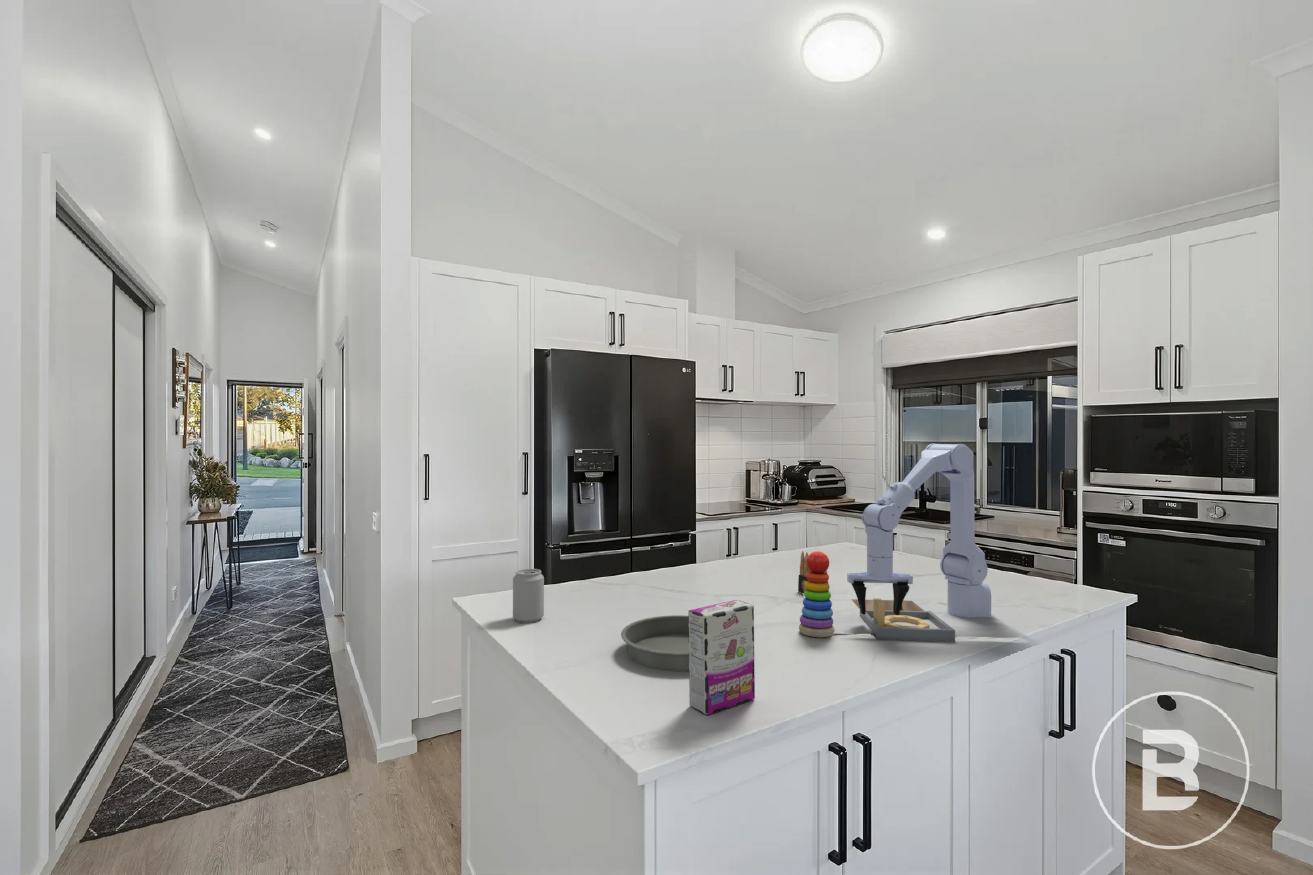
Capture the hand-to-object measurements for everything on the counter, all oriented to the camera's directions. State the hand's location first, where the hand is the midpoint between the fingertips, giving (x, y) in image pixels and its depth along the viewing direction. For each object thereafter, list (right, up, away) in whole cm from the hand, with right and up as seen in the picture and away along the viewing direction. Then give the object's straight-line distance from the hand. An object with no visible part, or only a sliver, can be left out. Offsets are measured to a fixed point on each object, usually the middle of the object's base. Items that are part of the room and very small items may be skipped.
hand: (879, 613), depth 147 cm
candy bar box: (-41, -4, -40) cm, 58 cm away
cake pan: (-47, -4, -16) cm, 50 cm away
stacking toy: (-15, -4, -3) cm, 16 cm away
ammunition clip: (-8, -4, +31) cm, 32 cm away
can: (-84, -4, +7) cm, 84 cm away
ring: (+6, -3, 0) cm, 6 cm away
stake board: (+8, -4, +15) cm, 18 cm away
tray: (+6, -4, 0) cm, 7 cm away
